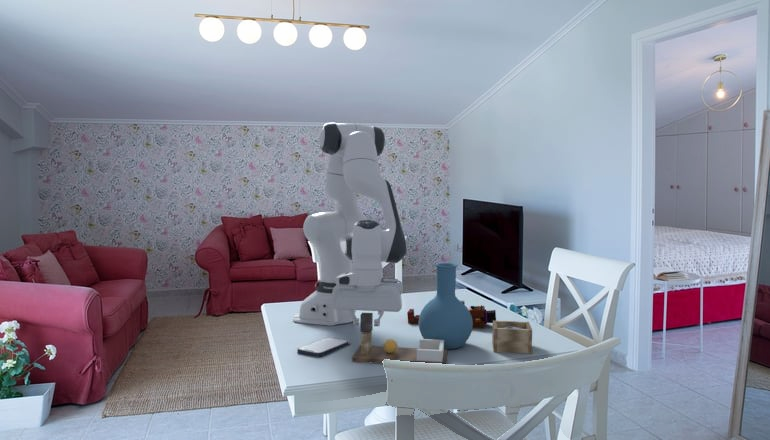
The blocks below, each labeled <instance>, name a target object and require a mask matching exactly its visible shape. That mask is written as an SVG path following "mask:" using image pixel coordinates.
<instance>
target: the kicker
mask: <svg viewBox="0 0 770 440" xmlns="http://www.w3.org/2000/svg"><path fill="white" fill-rule="evenodd" d="M373 314H374V313H373V312H364V311H363V312H361V313H360V318H359V325H360V329H359V330H360V343H361V344H360V345H361V354H362V355H368V354H369V352H370V351H371V349H372V346H373V344H372V343H373V342H372V339H373V338H372V335H373V333H372V332H373V326H374V324H373V323H374V320H373Z"/></svg>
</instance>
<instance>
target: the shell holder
mask: <svg viewBox="0 0 770 440" xmlns="http://www.w3.org/2000/svg"><path fill="white" fill-rule="evenodd" d="M508 326H512V327H516V328H517V327H520V328H525V329H509V328H504V327H508ZM491 340H492V341H491V342H492V349H493V353H506V354H507V353H508V354H528V355H532V353H533V352H532V350H533V329H532V326H531V324H530V322H529V321H519V320H518V321H515V320H496V321H494V320H493V323H492V339H491Z"/></svg>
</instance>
